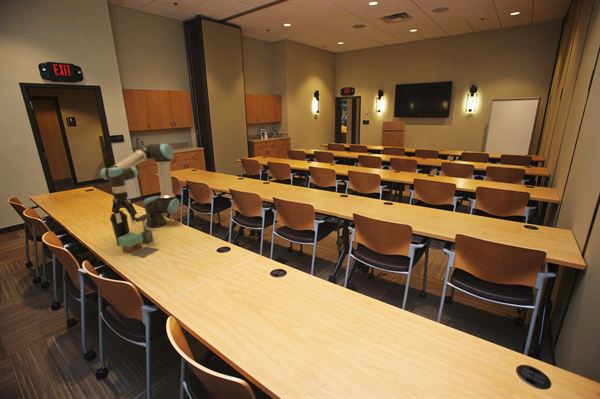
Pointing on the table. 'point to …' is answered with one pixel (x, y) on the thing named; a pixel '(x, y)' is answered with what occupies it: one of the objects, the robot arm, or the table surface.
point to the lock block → (147, 237)
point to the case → (132, 248)
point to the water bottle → (120, 225)
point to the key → (144, 222)
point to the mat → (144, 252)
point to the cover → (130, 239)
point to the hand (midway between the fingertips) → (126, 223)
